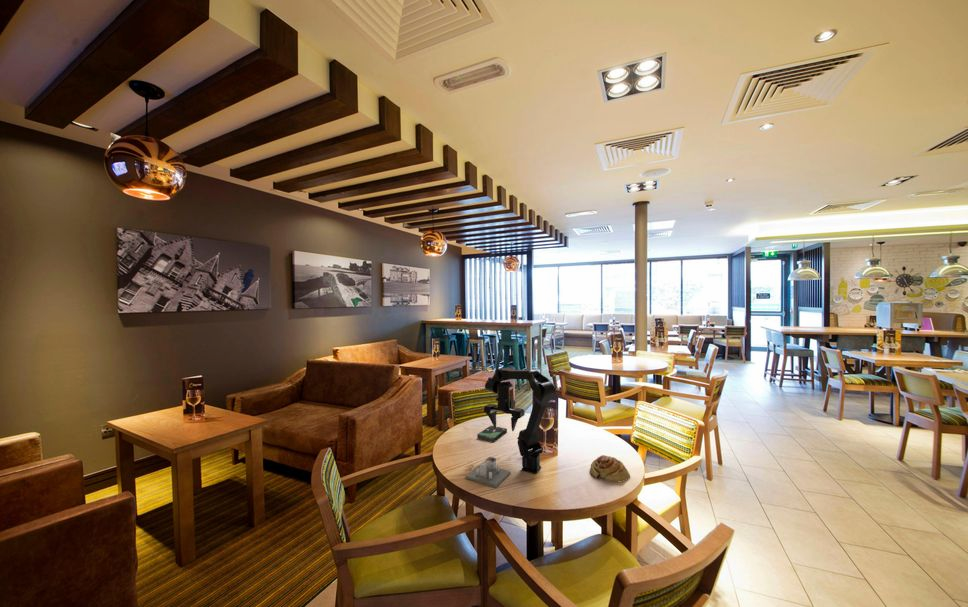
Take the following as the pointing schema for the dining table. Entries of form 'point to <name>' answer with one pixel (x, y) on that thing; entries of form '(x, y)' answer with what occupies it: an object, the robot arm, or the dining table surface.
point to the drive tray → (492, 479)
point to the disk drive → (492, 433)
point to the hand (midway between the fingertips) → (504, 429)
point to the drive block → (487, 467)
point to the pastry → (609, 469)
